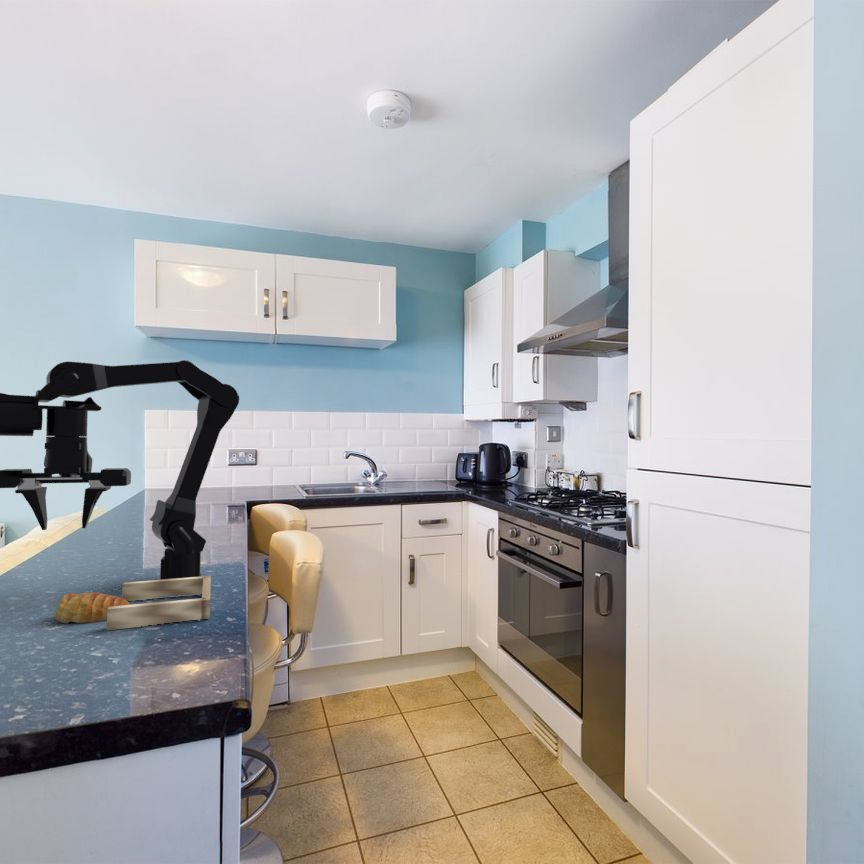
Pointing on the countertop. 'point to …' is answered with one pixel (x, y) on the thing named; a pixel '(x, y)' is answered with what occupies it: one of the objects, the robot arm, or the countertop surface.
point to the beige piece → (161, 603)
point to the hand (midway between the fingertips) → (64, 528)
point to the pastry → (86, 607)
